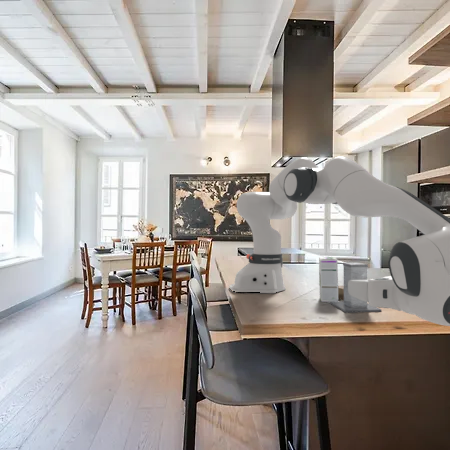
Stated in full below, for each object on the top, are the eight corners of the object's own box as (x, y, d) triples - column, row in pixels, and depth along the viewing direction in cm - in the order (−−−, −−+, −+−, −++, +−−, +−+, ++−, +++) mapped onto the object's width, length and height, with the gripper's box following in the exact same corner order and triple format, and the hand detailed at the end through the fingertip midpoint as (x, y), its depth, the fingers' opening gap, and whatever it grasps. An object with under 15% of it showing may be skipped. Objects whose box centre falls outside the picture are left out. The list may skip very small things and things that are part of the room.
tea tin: (351, 308, 97) (351, 264, 97) (343, 304, 102) (343, 262, 102) (367, 307, 98) (367, 264, 98) (358, 303, 103) (358, 262, 103)
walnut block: (342, 300, 110) (342, 288, 110) (333, 297, 115) (333, 286, 115) (354, 299, 112) (354, 287, 112) (345, 296, 117) (345, 285, 117)
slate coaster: (345, 312, 94) (345, 310, 94) (329, 303, 105) (329, 301, 105) (381, 311, 95) (381, 309, 95) (361, 302, 106) (361, 300, 106)
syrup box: (338, 302, 107) (338, 258, 107) (320, 302, 108) (320, 258, 108) (336, 298, 112) (336, 257, 112) (318, 298, 113) (318, 256, 113)
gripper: (445, 278, 78) (407, 270, 91) (364, 280, 75) (338, 272, 89) (446, 304, 77) (407, 293, 91) (365, 307, 75) (338, 295, 89)
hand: (372, 282), depth 90 cm, fingers open, 8 cm apart
